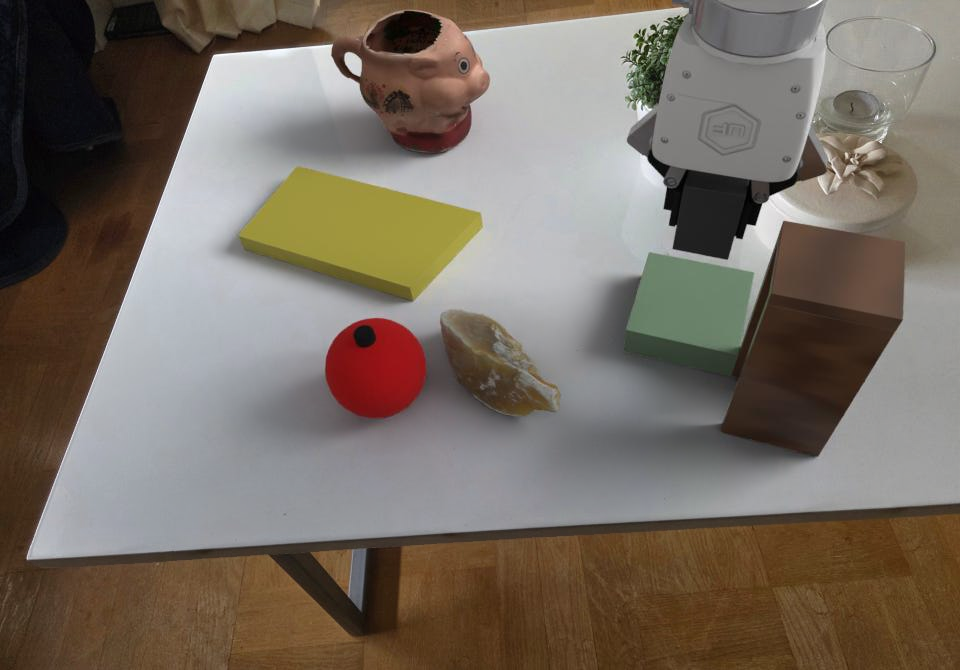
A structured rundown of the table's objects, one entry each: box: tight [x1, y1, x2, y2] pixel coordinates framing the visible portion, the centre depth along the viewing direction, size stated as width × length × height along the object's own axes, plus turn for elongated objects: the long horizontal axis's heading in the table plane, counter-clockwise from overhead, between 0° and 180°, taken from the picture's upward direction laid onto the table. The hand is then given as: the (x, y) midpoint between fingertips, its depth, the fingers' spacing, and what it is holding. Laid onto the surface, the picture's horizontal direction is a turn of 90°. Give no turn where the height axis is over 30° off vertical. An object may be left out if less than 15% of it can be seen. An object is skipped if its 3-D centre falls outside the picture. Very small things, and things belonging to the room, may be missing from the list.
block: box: [671, 170, 749, 261], centre depth 58 cm, size 4×4×7 cm
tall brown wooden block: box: [720, 220, 907, 458], centre depth 57 cm, size 8×7×19 cm
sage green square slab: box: [622, 251, 755, 378], centre depth 69 cm, size 10×10×4 cm
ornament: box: [324, 317, 427, 420], centre depth 65 cm, size 9×9×10 cm
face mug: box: [330, 9, 491, 154], centre depth 86 cm, size 20×12×14 cm, turn 74°
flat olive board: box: [237, 165, 483, 302], centre depth 81 cm, size 12×2×24 cm
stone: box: [439, 308, 562, 418], centre depth 66 cm, size 7×6×15 cm
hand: (708, 219), depth 60 cm, fingers closed on block, 4 cm apart
